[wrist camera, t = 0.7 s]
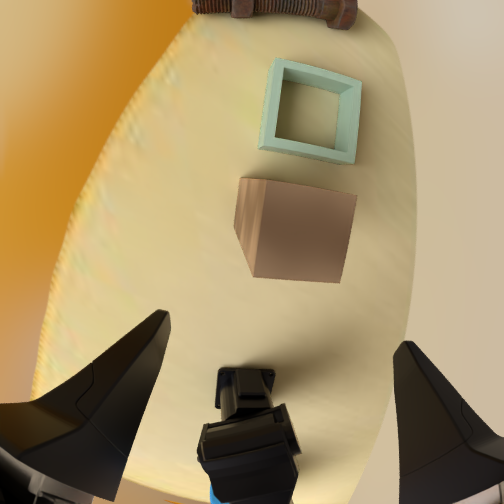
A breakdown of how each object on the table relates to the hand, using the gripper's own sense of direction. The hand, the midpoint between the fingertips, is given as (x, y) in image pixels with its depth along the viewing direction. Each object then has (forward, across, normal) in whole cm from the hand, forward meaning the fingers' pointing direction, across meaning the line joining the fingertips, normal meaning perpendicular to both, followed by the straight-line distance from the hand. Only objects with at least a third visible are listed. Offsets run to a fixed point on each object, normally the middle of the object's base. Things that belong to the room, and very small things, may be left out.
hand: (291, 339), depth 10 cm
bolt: (+23, +4, -17) cm, 29 cm away
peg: (+17, +2, +2) cm, 17 cm away
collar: (+20, -1, -6) cm, 21 cm away
